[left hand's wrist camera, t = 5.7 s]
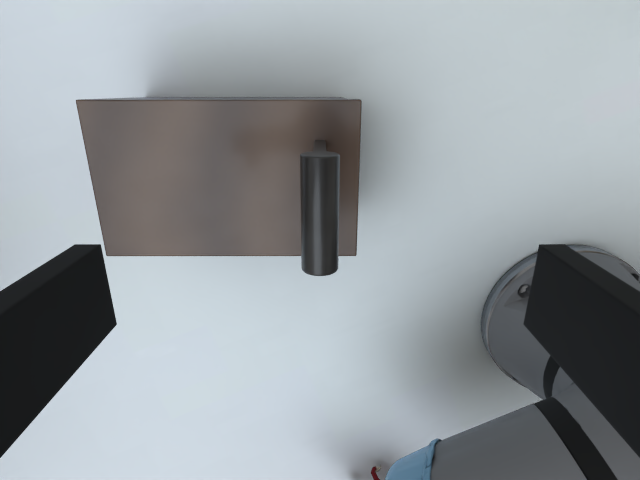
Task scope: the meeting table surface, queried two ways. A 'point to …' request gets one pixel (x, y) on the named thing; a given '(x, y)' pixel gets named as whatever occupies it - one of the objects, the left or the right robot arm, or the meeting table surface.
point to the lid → (226, 177)
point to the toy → (373, 472)
